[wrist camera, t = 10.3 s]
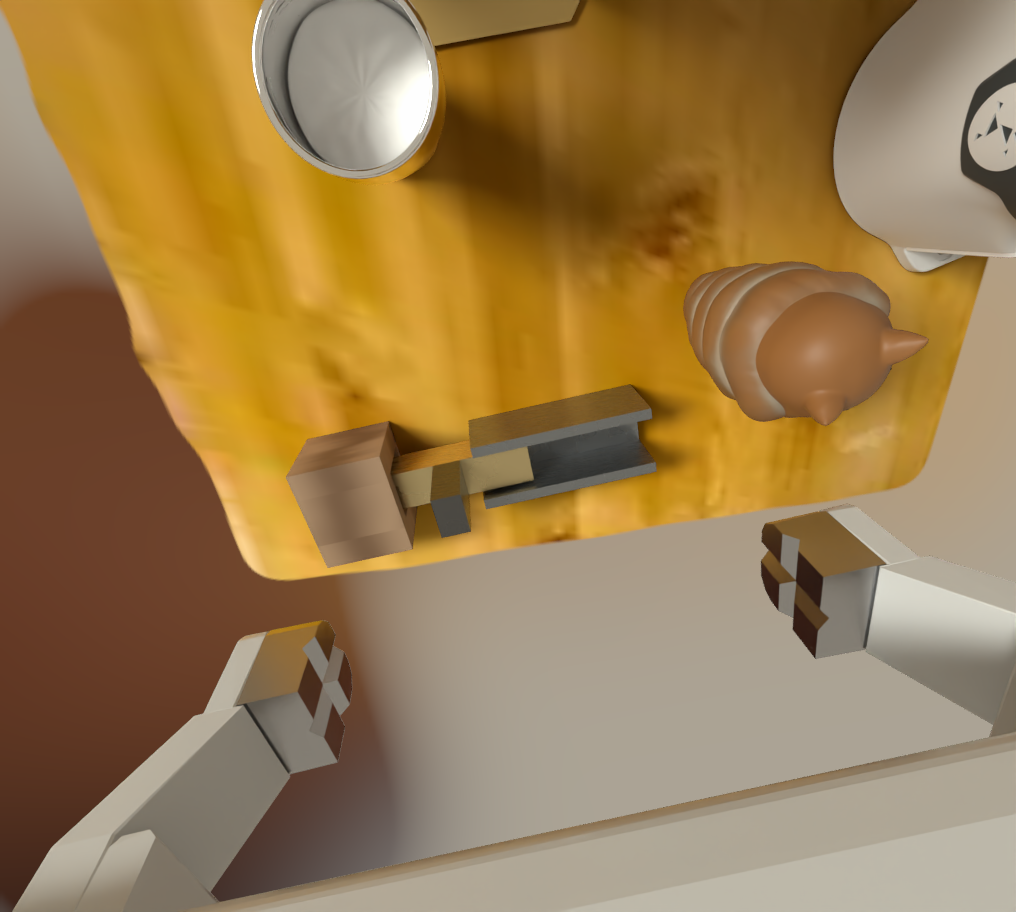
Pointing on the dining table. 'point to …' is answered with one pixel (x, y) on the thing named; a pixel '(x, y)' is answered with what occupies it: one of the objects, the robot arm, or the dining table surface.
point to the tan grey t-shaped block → (455, 480)
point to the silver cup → (351, 85)
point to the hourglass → (489, 17)
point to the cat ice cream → (794, 338)
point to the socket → (352, 495)
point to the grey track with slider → (568, 443)
